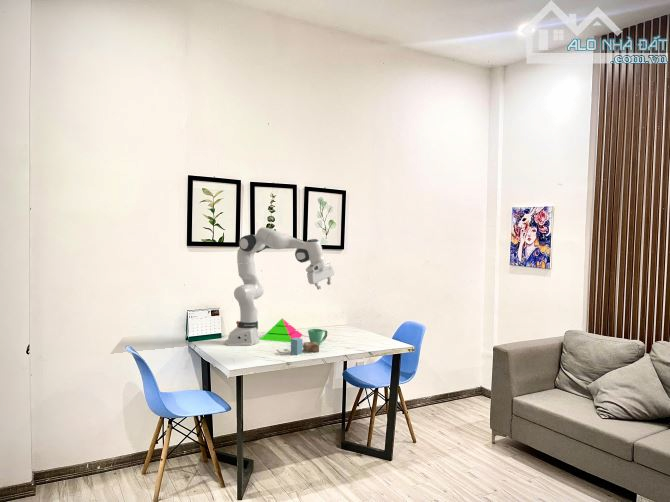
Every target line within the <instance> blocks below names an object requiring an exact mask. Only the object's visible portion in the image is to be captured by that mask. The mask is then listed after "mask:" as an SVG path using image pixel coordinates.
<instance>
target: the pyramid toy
mask: <svg viewBox="0 0 670 502" xmlns="http://www.w3.org/2000/svg"><path fill="white" fill-rule="evenodd" d="M302 335H303V334H302V333H301V332H300V331H299V330H297V329H296V328H295V327H294V326H292V325H291V324H289V322H288V321H286V320H285V319H284V318H281V319H279V320H278V322H277V323H276V324H274V326H272V327H271V328H270V329H269V330H268V331H267V332H266V333H265V334H264V335H263V336H262V337H261V338H260V339H259V341H269V342H272V341H273V342H282V343H291V339H293V338H301V337H303V336H302Z"/></svg>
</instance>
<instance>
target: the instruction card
mask: <svg viewBox="0 0 670 502" xmlns="http://www.w3.org/2000/svg"><path fill="white" fill-rule="evenodd" d="M276 351H277V352H278V353H288V352H289V353H291V347H289V348H281V349H280V348H279V349H276Z"/></svg>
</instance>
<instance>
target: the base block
mask: <svg viewBox="0 0 670 502" xmlns="http://www.w3.org/2000/svg"><path fill="white" fill-rule="evenodd" d="M302 351H304V352H305V353H306V354H312V353H315V354H316V353H320V344H318V343H317V342H310V341H305V342H304V341H302Z"/></svg>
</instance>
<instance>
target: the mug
mask: <svg viewBox="0 0 670 502" xmlns="http://www.w3.org/2000/svg"><path fill="white" fill-rule="evenodd" d="M307 332H308V338H309V342H317V343H318V344H319V345H321V344H322V343H323V342H324V341H325V340H326V338H327V337H328V330H327V329H319V328H311V329H308V330H307ZM323 333H324V335H323Z"/></svg>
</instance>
